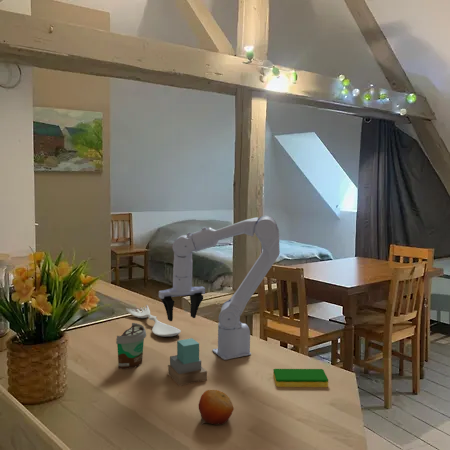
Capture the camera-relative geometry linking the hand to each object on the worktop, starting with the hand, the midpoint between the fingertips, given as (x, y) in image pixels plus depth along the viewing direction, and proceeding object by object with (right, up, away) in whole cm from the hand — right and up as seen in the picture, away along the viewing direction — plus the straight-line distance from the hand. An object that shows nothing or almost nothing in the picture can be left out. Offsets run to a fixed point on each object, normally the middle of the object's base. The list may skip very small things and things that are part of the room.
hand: (181, 318), depth 157 cm
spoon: (-12, -7, +24) cm, 28 cm away
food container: (-13, -12, -8) cm, 19 cm away
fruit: (+11, -17, -39) cm, 44 cm away
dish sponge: (+34, -14, -18) cm, 40 cm away
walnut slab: (+3, -13, -16) cm, 21 cm away
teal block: (+3, -8, -17) cm, 19 cm away
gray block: (+2, -10, -16) cm, 19 cm away
